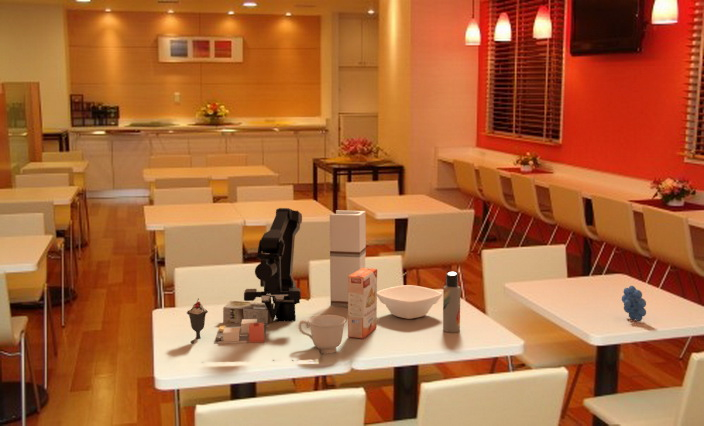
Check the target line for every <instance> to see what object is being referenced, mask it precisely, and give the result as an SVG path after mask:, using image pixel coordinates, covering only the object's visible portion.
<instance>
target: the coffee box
mask: <svg viewBox="0 0 704 426" xmlns="http://www.w3.org/2000/svg"><path fill="white" fill-rule="evenodd" d="M271 303H272V310H273V312H274V303H273V302H271ZM222 310H223V311H222V313H223V314H222V317H223V318H222V320H223V321H222V323H223V324H241V322H242V319H257V322H258V323H264V325H270V323H273V322H274V321H275V319H274V320H272V318H271V316H270V313H269V311H268V308H267V307H266V305H265V303H262V302H256V301H255V302H254V301H237V300H233V301H232V300H230V301H229V302H228V303H227V304H225V305H224V306H223V308H222Z"/></svg>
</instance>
